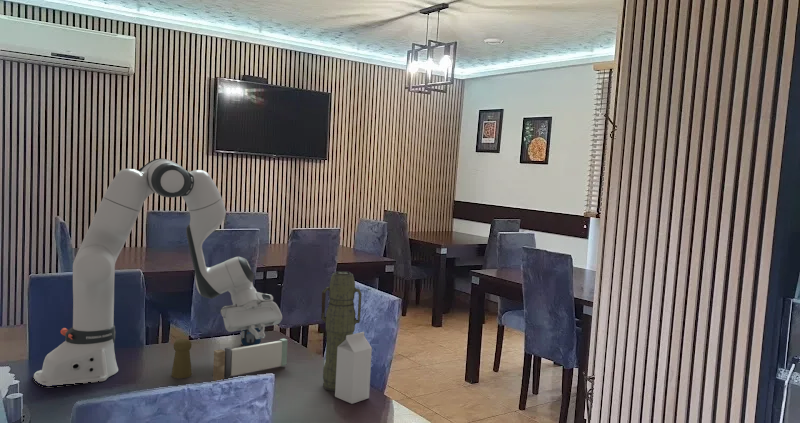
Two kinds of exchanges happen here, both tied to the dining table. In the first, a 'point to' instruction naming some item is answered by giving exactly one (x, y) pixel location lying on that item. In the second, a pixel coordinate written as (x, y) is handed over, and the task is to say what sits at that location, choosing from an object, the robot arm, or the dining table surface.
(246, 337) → the soda can
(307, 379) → the dining table surface
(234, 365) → the gate
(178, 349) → the cork
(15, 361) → the dining table surface
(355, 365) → the milk carton
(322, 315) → the thermos
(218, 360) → the gate post
